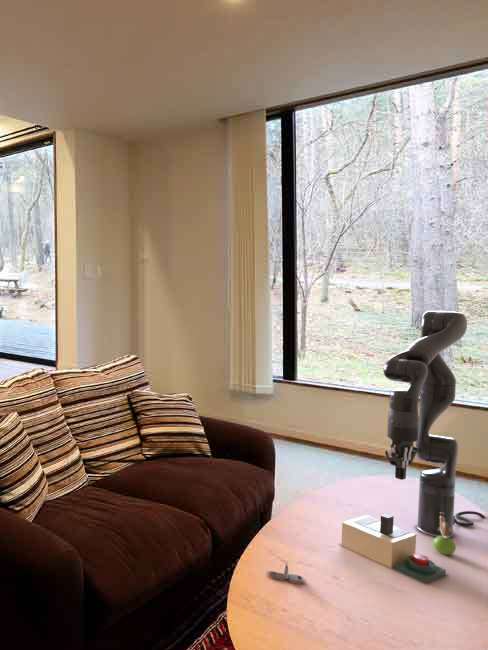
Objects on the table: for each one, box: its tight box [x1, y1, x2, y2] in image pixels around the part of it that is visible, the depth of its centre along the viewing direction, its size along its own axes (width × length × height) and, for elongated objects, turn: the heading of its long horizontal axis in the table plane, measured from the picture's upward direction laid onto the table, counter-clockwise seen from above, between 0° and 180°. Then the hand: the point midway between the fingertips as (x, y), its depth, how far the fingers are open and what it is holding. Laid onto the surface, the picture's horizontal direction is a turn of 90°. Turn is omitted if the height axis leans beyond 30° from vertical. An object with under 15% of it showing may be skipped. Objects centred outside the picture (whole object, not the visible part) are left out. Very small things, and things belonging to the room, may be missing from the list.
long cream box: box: [341, 514, 417, 569], centre depth 171 cm, size 12×15×8 cm
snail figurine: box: [432, 512, 457, 556], centre depth 170 cm, size 5×6×12 cm
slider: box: [380, 513, 395, 535], centre depth 166 cm, size 3×2×6 cm, turn 113°
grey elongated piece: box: [269, 562, 304, 584], centre depth 157 cm, size 8×3×4 cm, turn 65°
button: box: [413, 553, 430, 565], centre depth 159 cm, size 4×4×2 cm
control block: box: [394, 555, 447, 584], centre depth 159 cm, size 10×8×4 cm
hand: (400, 478), depth 167 cm, fingers closed
